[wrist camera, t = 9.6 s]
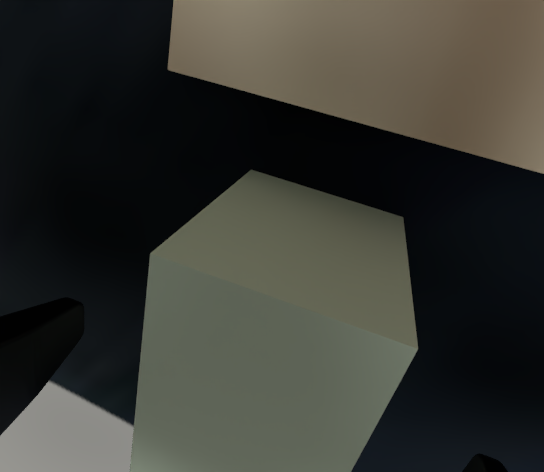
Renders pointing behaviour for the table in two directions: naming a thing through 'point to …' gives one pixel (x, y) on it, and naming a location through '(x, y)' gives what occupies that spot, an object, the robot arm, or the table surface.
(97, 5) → the table surface
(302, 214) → the sage brick
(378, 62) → the birch board
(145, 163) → the table surface
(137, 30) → the table surface
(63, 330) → the robot arm
